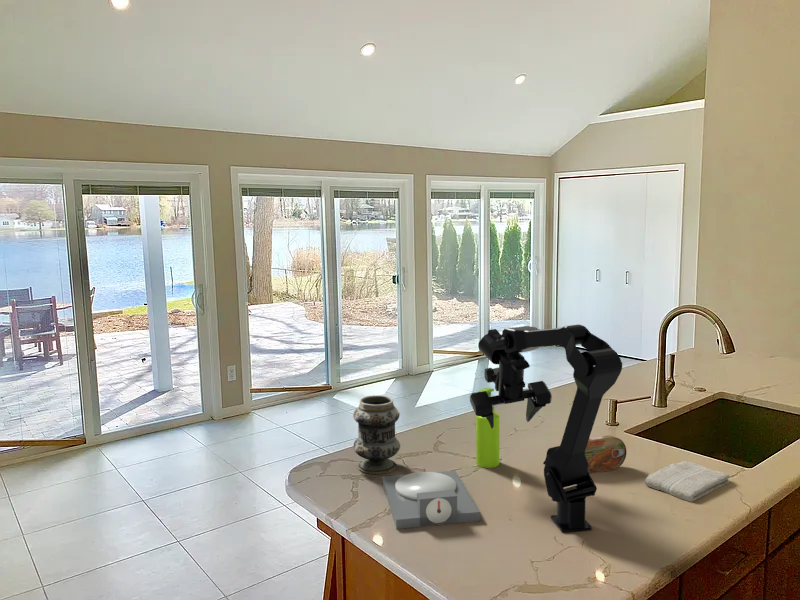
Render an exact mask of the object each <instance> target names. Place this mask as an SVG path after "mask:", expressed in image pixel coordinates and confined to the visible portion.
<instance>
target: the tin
mask: <svg viewBox="0 0 800 600" xmlns="http://www.w3.org/2000/svg"><path fill="white" fill-rule="evenodd" d="M585 455H586V458H587V461H588V472H589V474H590V473H591V474H595V473H596V472H597V473H602V471H603V472H608V471H615V470H617V469H618V468H620V467H622V465H623V464H624V462H625V460H626V457H627V447H626V444H625V442H624V441H623V440H622V439H620V438H619V437H615V436H613V435H602V436H595V437H589V440H588V443H587V447H586V450H585ZM591 474H590V475H591Z"/></svg>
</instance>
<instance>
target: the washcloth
mask: <svg viewBox="0 0 800 600" xmlns="http://www.w3.org/2000/svg"><path fill="white" fill-rule="evenodd" d="M729 479H730V475H729V474H728V473H726V472H722V471H719V470H715V469H709V468H708V467H705V466H703V465H701V464H698V463H695V462H691V461H689V460H683V461H680V462H678V463H670V464H669V465H667V466H666V467H663V468H660V469H658V470H657V471H655V472H652V473H649V475H647V477H646V478H645V479H644V484H645V485H646V486H647V487H648V488H651V487H652V489H655V490H658V491H659V490H661V492H664V493H666V494H668V493H669V495H670V496H673V497H676V498H678V499H681V500H684V501H686V502H690V503H691V502H694V501H697V500H698V499H701V498H702V497H703V496H706V495H708V494H710V493H711V492H713V491H715V490H717V489H718V488H721V487H723V486H725V485H727V484H729V483H730V480H729Z"/></svg>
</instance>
